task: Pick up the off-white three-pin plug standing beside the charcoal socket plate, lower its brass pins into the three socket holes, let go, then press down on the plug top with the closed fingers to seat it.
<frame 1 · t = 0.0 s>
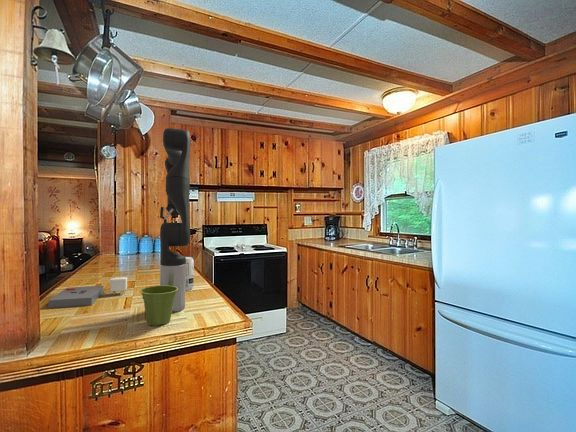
hand: (174, 226, 159), 29 cm above the worktop, tool pointing down, fingers open, 8 cm apart
plug: (118, 293, 135), on the worktop
socket plate: (78, 299, 126), on the worktop
supplement can: (184, 289, 147), on the worktop
plant pot: (159, 322, 102), on the worktop
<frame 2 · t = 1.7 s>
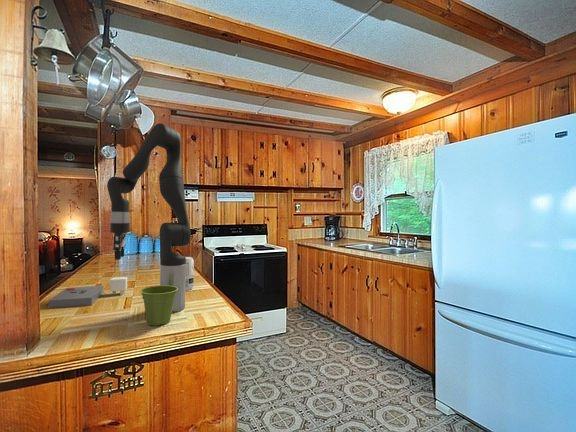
hand: (119, 258, 135), 16 cm above the worktop, tool pointing down, fingers open, 8 cm apart
nothing on the worktop moved.
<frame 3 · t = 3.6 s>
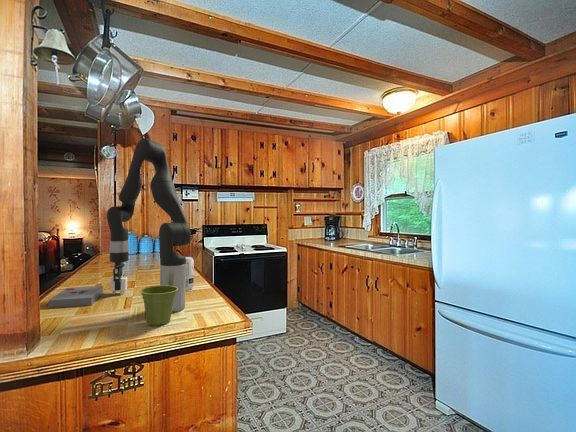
hand: (118, 288, 135), 2 cm above the worktop, tool pointing down, fingers closed on plug, 4 cm apart
plug: (118, 293, 135), on the worktop, touching gripper
everything else where it was.
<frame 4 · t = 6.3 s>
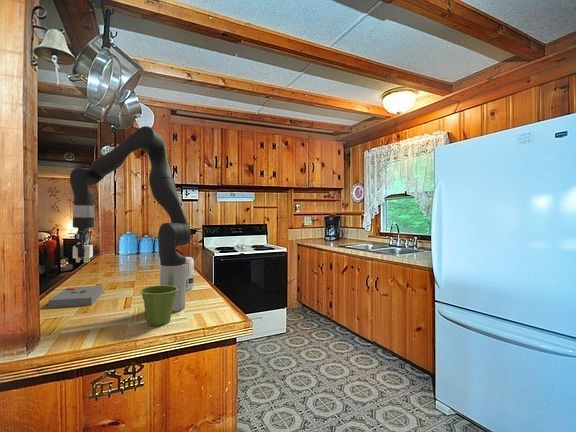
hand: (82, 256, 127), 18 cm above the worktop, tool pointing down, fingers closed on plug, 4 cm apart
plug: (82, 262, 127), point 15 cm above the worktop, touching gripper
everything else where it was.
when the fingers open (4 cm above the worktop, at t = 9.2 s): plug stays where it is, resting on socket plate.
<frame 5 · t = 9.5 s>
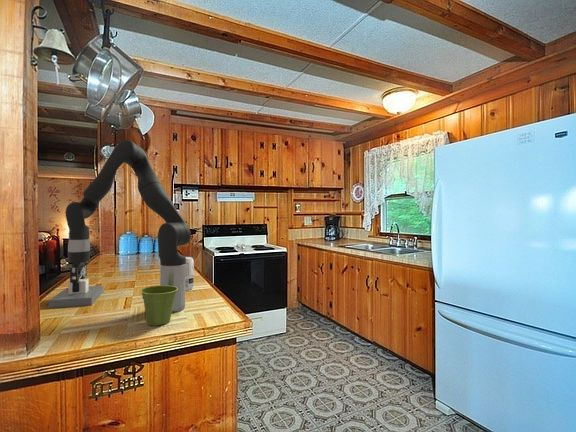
hand: (78, 289, 126), 4 cm above the worktop, tool pointing down, fingers open, 7 cm apart
plug: (78, 297, 126), point 1 cm above the worktop, touching socket plate
everything else where it was.
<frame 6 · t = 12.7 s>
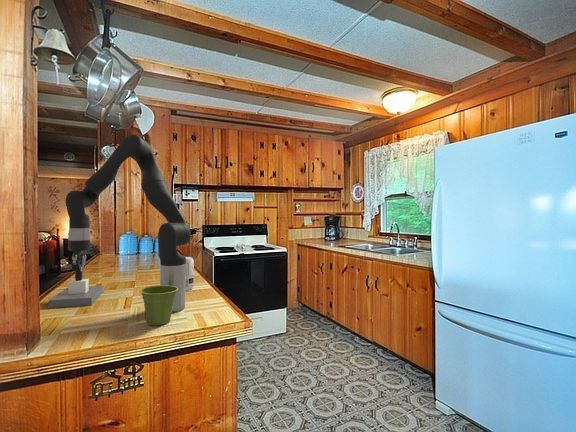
hand: (78, 280, 126), 8 cm above the worktop, tool pointing down, fingers closed
plug: (78, 297, 126), point 1 cm above the worktop, touching gripper, socket plate
everything else where it was.
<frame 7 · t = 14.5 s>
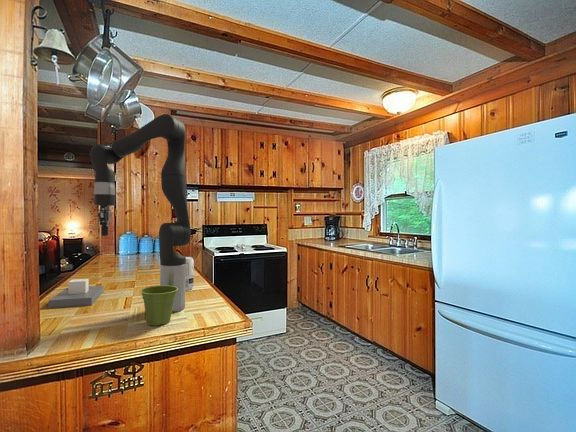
hand: (104, 235, 125), 27 cm above the worktop, tool pointing down, fingers closed
plug: (78, 297, 126), point 1 cm above the worktop, touching socket plate
everything else where it was.
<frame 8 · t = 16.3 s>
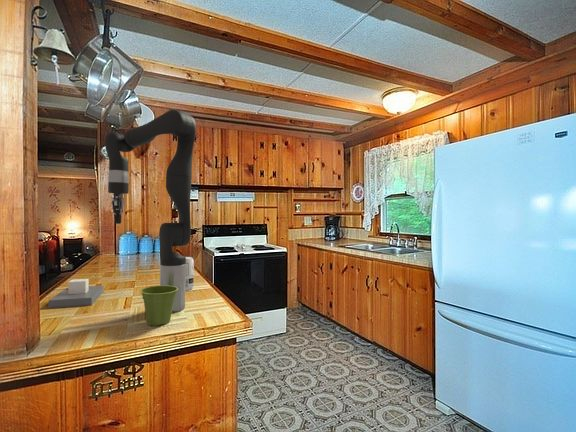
hand: (118, 223, 126), 32 cm above the worktop, tool pointing down, fingers closed
nothing on the worktop moved.
at the end: plug 0.1 cm off-centre on the socket plate, point 1.0 cm above the socket plate's base; plug tilted 0°; the gripper is holding nothing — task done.
